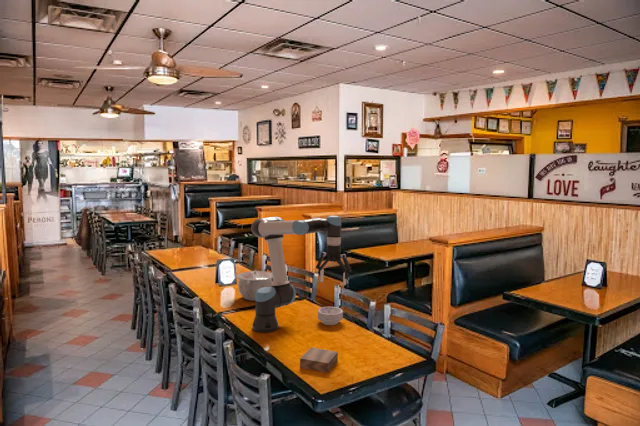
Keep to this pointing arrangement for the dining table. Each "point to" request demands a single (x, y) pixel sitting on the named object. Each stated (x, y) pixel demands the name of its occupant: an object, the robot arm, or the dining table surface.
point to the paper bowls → (330, 315)
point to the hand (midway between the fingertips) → (333, 283)
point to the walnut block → (319, 359)
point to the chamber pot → (253, 283)
